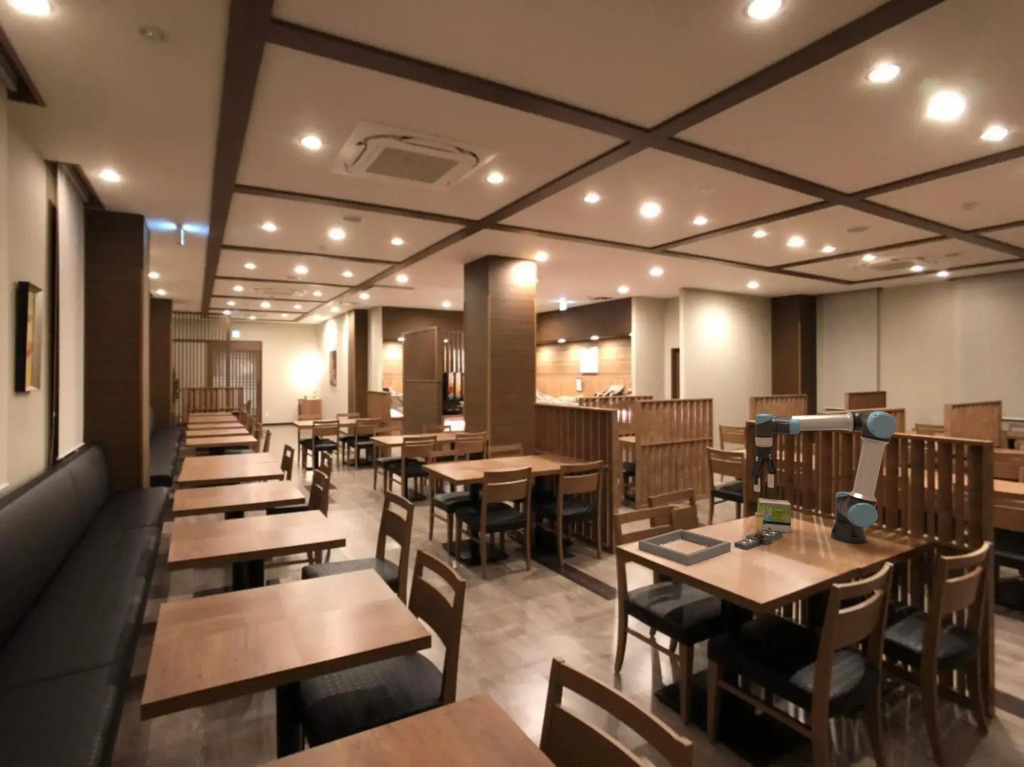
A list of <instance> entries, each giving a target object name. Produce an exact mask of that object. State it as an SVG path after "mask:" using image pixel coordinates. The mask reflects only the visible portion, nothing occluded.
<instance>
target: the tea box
mask: <svg viewBox="0 0 1024 767" xmlns="http://www.w3.org/2000/svg"><path fill="white" fill-rule="evenodd" d="M756 510H757V511H756V512H762V513H764V516H763V531H770V530H772V531H776V532H780V533H788V534H789V533H791V530H792V529H791V528H792V527H791V525H792V503H790V501H789V500H781V499H768V498H757V508H756Z"/></svg>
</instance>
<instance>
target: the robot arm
mask: <svg viewBox="0 0 1024 767" xmlns="http://www.w3.org/2000/svg"><path fill="white" fill-rule="evenodd" d="M754 421H755V422H754V424H755V425H754V427H755V436H754V437H755V438H754V440H755V447H754V448H755V451H754V452H755V454H757V456H754V459H753V460H754V461H753V465H752V468H751V469H752V470H751V474H750V477H751V478H753V491H754V492H757V493H760V492H761V478H760V476H761V472H762V470H763V468H764V467H765V468H766V470H767V472H768V473H767V488H771V489H774V487H775V475H776V474H777V468H776V464H775V460H774V455H773V434H781V435H798V434H799V433H800V432H801V431H833V430H834V431H835V430H837V431H838V430H840V431H841V430H842V431H845V430H847V431H848V432H855V433H856V432H858V433H860V439H861V440H862V446H861V451H860V455H859V458H858V459H859V460H858V465H857V470H856V473H855V479H854V483H853V487H852V488H853V489H852V491H837V492H835V498H834V499H835V500H834V502H835V503H834V504H835V507H834V508H835V509H834V510H835V511H834V512H835V515H834V516H835V518H834V520H835V521H834V523H833V526H832V528H831V531H830V538H832V539H833V540H835V541H839V542H844V543H849V544H863V543H867V540H868V539H867V535H866V534H867V533H866V531H865V528H868V527H870V526H871V527H872V526H873V525H874V524H875V523H876V522H877V520H878V517H879V515H878V511H877V509H876V507H877V503H878V500H877V498H876V497H875V493H876V492H875V491H876V488H877V483H878V478H879V473H880V470H881V469H880V468H881V465H882V461H883V460H882V459H883V456H884V451H885V446H887V445H888V444H890V441H891V437H892V436H893V435H895V433H896V431H897V429H898V424H897V421H896V418H895V417H893V415H891V414H890V413H887V412H886V411H882V410H881V411H879V410H875V409H866V410H858V411H847V412H846V413H844V414H843V413H842V414H841V413H840V414H839V413H838V414H835V413H834V414H809V415H808V414H807V415H805V414H803V415H775V416H773V414H771V413H757V414H756V415H755V419H754Z"/></svg>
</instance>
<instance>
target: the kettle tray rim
mask: <svg viewBox="0 0 1024 767" xmlns="http://www.w3.org/2000/svg"><path fill="white" fill-rule="evenodd" d="M680 538H684V539H687V540H686V541H688V540H690V541H689V542H691V541H694V542H693V543H695V542H697V543H696V544H698V543H700V544H699V545H702V544H704V545H703V546H705V545H707V546H706V547H705V548H703V549H699V550H697V551H692V552H690V553H684V552H681V551H679V550H674V549H673V548H669V547H664V546H662V545H665V544H664V543H666V544H668V543H667V542H669V543H671V542H670V541H673V542H675V541H674V540H676V541H678V540H677V539H679V540H681V539H680ZM684 539H683V540H684ZM660 544H662V545H660ZM637 545H638V550H639V549H640V550H639V551H643V552H645V553H648V554H651V555H654V556H658V557H661V558H664V559H666V560H670V561H673V562H676V563H679V564H682V565H684V566H692V565H695V564H697V563H701V562H703V560H704V561H707V560H708V559H712V558H714V557H717V556H721V555H724V554H726V552H727V553H729V552H728V551H730V552H731V551H732V550H731V545H732V542H730V541H727V540H723V539H720V538H716V537H712V536H708V535H705V534H700V533H696V532H694V531H690V530H686V529H683V528H680V529H676V530H673V531H669V532H666V533H662V534H659V535H655V536H651V537H647V538H644V539H640V540H638V544H637ZM709 546H710V547H709ZM723 553H724V554H723ZM720 554H721V555H720ZM706 559H707V560H706Z"/></svg>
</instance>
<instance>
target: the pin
mask: <svg viewBox="0 0 1024 767" xmlns="http://www.w3.org/2000/svg"><path fill="white" fill-rule="evenodd" d="M754 515H755V530H754V532H755V537H757V538H761V539H762V538H763V533H764V530H763V516H764V513H762V512H757V511H754Z"/></svg>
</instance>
